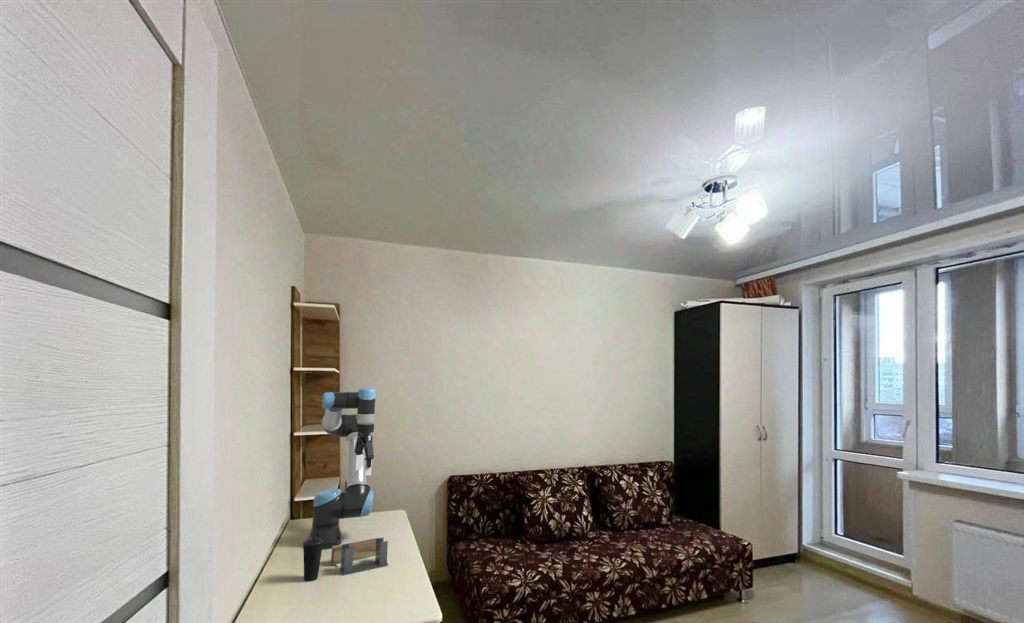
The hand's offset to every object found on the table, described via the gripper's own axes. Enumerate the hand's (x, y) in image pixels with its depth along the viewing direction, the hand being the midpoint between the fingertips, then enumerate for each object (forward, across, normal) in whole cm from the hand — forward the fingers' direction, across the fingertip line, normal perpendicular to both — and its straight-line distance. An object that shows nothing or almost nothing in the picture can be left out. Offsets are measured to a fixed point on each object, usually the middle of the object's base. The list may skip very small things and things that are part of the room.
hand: (363, 472), depth 210 cm
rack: (+35, +14, -2) cm, 37 cm away
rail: (+34, +4, -2) cm, 34 cm away
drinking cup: (+35, +14, -22) cm, 43 cm away
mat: (+35, +4, -2) cm, 35 cm away
